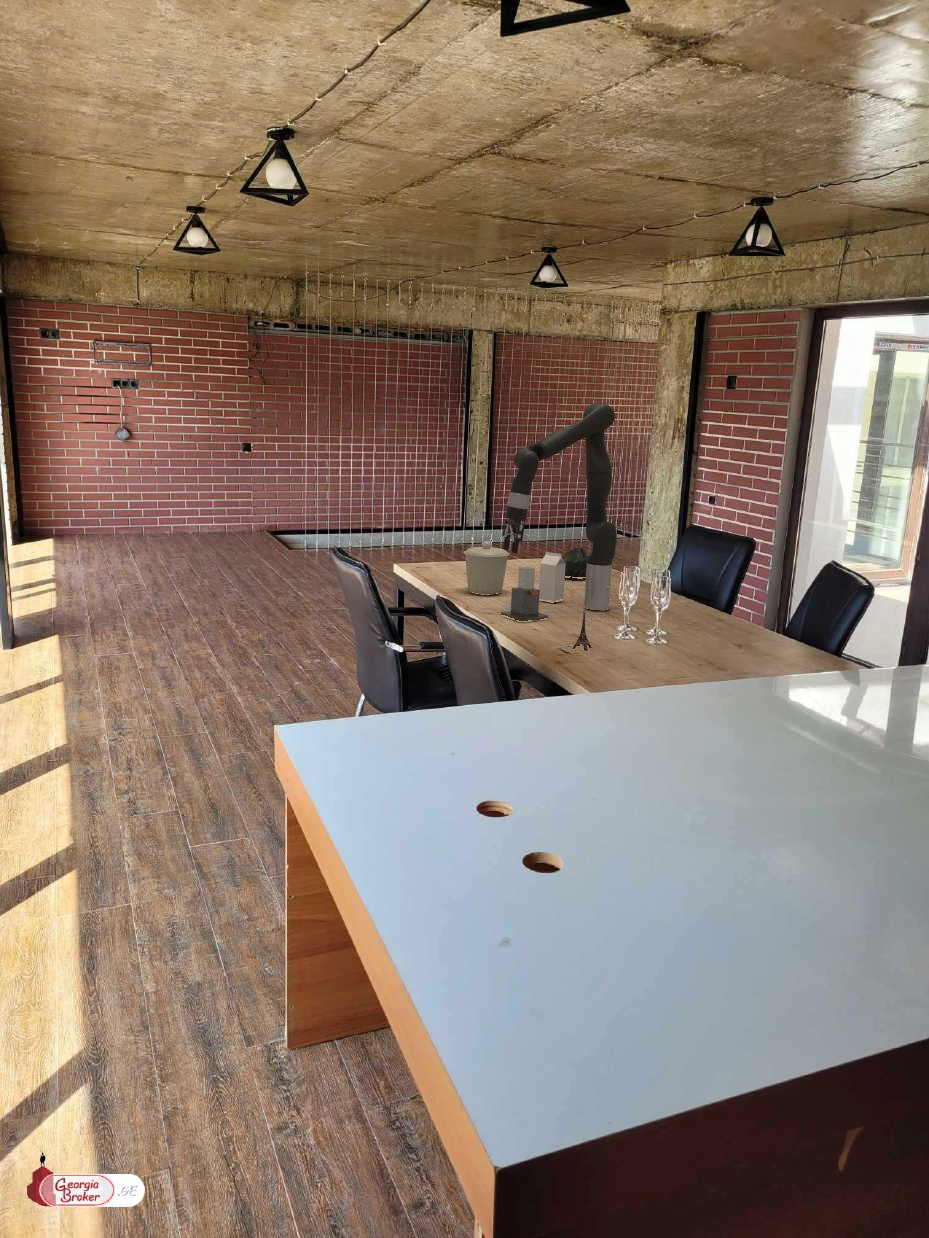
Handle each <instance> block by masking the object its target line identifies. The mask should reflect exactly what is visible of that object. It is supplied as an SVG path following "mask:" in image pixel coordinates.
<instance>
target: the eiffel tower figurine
mask: <svg viewBox="0 0 929 1238" xmlns="http://www.w3.org/2000/svg"><path fill="white" fill-rule="evenodd" d="M580 630H581V631H580V633H579V636H578V638H577V639H576V642H575V643H574V644H575V645H574V646H573V648H572V649H575V648H576V646H580V644H582V645H583V646H584V651H588V649H587V645H588V646H589V648H592V647H591V645H590V642H589V639H588V637H587V632H586V609H584V611H583V616H582V624H581V629H580ZM565 647H566V646H565ZM567 647H571V646H567ZM564 653H566V652H564ZM566 654H567V653H566Z"/></svg>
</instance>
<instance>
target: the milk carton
mask: <svg viewBox="0 0 929 1238" xmlns="http://www.w3.org/2000/svg"><path fill="white" fill-rule="evenodd" d="M562 555H563V554H562V553H558V552H557V553H556V552H549V551H545V554H544V556H543V558H542V560H540V565H539V578H538V579H539V581H538V590H540V595H539V599H543V600H551V601H556V600H560V599H563V600H564V596H565V595H564V594H565V582H566V581H565V580H566V579H565V565H566V563H565V562H564V560H563V558H562V557H561V556H562Z"/></svg>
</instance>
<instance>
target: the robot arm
mask: <svg viewBox="0 0 929 1238" xmlns="http://www.w3.org/2000/svg"><path fill="white" fill-rule="evenodd" d="M615 419H616V412H615V410H614V409H613V407H612V406H610V405H609V404H606V403H591V404H589V405H587V406H586V408H585V410H584V411H583V414H582V419H580V420H579V421H577V422H574V423H573V424H570V425H568V426H566V427H563V428H561V429H558V430H556V431H553V432H552V433H550V434H548V435H547V436H544V437H543V438H542V439H541V440H539V441H537V442H535V443H532V444H530V445H527V446H526V447H523V448H521V449H519V450H518V451H517V452H516V453H515V454H514V457H513V464H514V466H515V467H516V468H518V470H517V473H516V475H515V476H514V477H513V479H512V482H511V486H510V493H509V496H508V500H507V505H506V509H505V510H506V511H505V521H504V525H503V530H502V534H501V535H502V537H503V543H502V549H503V550H505V551H507V550H508V551H509V550H510V553H512V554H517V553H518V549H519V544H520V543H522V542H523V539H524V532H525V528H526V527H525V525H524V524H522V522H526V520H527V517H528V511H529V506H530V498H531V491H532V485H533V481H534V480H535V476H536V474H537V471H538V468H539V464H540V463H539V462H541V461H542V460H547V459H550V458H551V457H553V456H556V455H557V454H558V453H561V452H562V451H564V450H565V449H567V448H568V447H570V446H572V445H574V444H575V443H577V442H579V441H581V440H583V439H585V462H586V463H585V465H586V466H585V468H586V469H585V478H586V480H585V482H586V503H587V506H586V507H587V509H586V511H587V512H586V513H587V514H586V521H585V522H586V524H585V535H586V536H585V537H586V538H587V540H588V541H589V543H591V544H592V551H591V553H590V554H588V558H587V571H586V578H585V586H584V587H585V591H584V601H583V608H584V607H585V608H589V609H592V610H608V609H609V610H610V600H611V585H612V584H611V581H612V568H613V567H612V566H613V560H614V558H615V555H616V546H617V538H618V533H617V529H616V526H615V525H614V524H613V523H611V522H609V521H607V509H606V507H607V503H608V502H607V501H608V499H609V496H610V492H611V489H612V484H613V477H612V475H613V474H612V473H613V472H612V471H613V469H612V463H611V459H610V456H609V453H608V451H607V448H606V447H607V446H606V443H605V430H607V429H609V428H610V427H611V426H612V425H613V424H614V422H615ZM511 540H512V542H511ZM511 543H512V544H511ZM510 544H511V545H510ZM510 546H511V547H510ZM585 608H584V609H585ZM609 610H608V611H609Z"/></svg>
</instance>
